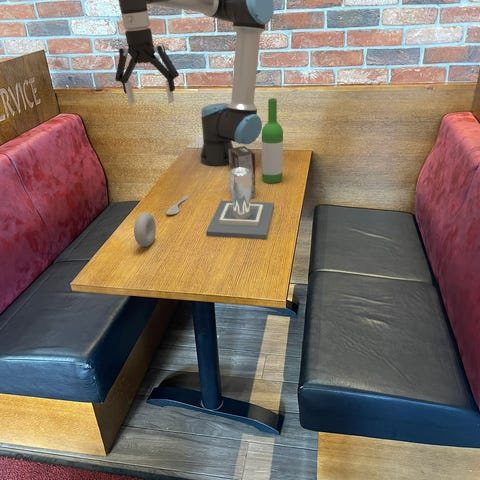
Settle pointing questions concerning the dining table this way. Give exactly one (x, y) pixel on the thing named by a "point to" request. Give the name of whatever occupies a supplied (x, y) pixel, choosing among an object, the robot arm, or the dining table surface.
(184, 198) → the spoon
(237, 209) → the chrome tumbler
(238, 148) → the coffee box
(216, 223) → the grey square plate
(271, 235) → the dining table surface
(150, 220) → the donut
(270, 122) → the wine bottle
